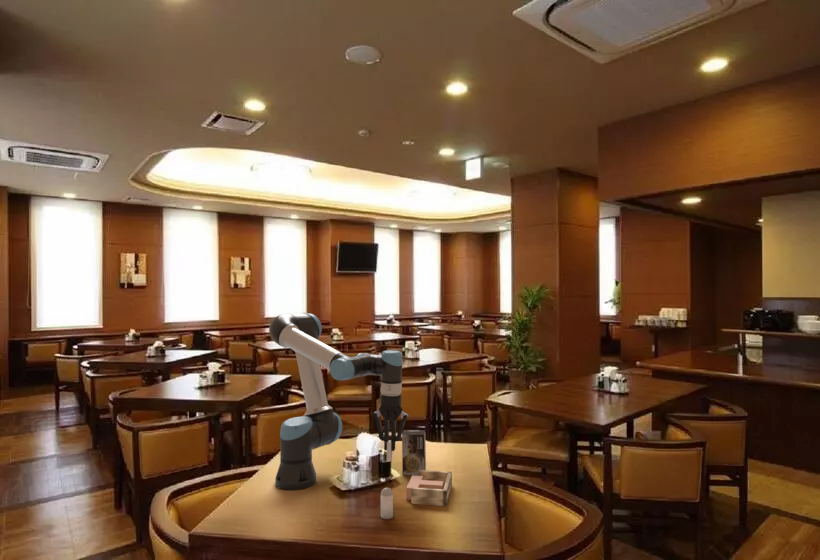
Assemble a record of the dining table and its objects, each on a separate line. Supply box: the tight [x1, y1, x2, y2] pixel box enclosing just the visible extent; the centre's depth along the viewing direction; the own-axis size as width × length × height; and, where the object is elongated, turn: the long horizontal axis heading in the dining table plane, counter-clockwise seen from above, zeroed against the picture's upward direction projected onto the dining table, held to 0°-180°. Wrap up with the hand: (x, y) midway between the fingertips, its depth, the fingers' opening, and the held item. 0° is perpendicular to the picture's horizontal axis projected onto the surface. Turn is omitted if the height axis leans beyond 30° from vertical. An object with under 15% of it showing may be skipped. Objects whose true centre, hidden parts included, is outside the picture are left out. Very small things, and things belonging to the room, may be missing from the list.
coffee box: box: [401, 429, 427, 476], centre depth 199 cm, size 9×6×16 cm
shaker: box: [380, 487, 394, 520], centre depth 160 cm, size 4×4×9 cm
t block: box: [405, 475, 444, 501], centre depth 178 cm, size 12×12×4 cm
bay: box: [410, 469, 453, 507], centre depth 178 cm, size 12×18×5 cm, turn 170°
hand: (389, 459), depth 181 cm, fingers closed
